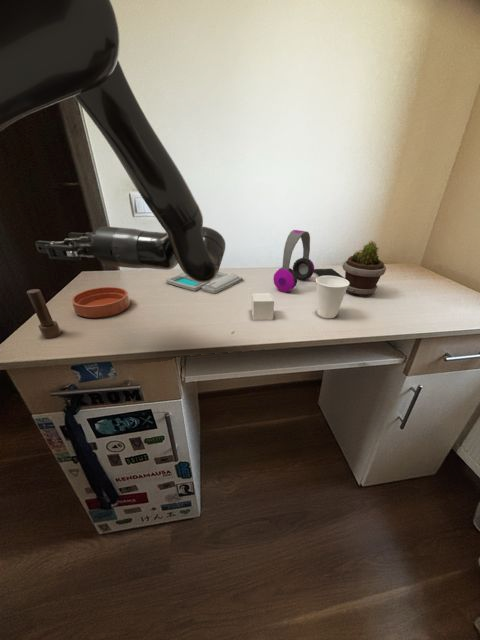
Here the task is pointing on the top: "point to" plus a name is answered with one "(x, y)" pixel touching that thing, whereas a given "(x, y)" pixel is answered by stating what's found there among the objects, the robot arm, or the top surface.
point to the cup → (330, 295)
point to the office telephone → (213, 286)
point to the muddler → (43, 315)
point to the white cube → (262, 306)
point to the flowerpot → (364, 271)
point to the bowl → (100, 302)
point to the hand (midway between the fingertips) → (55, 241)
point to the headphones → (302, 267)
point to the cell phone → (327, 272)
